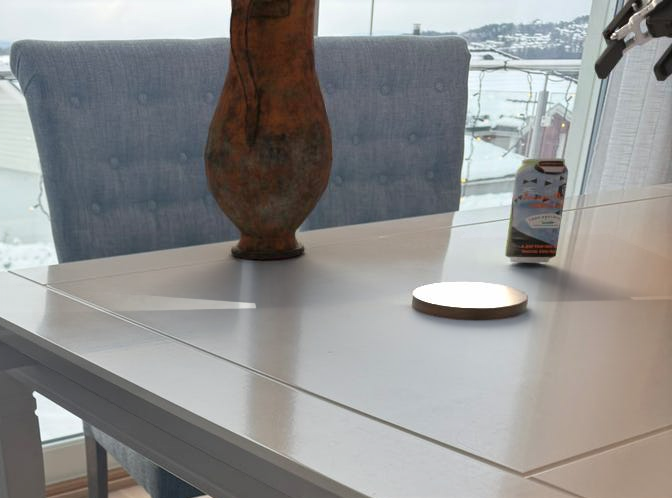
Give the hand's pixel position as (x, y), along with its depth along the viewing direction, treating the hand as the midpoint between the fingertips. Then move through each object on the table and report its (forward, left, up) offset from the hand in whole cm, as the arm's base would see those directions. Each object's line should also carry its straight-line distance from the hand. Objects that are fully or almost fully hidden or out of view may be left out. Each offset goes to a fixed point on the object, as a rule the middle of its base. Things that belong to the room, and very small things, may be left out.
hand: (627, 74), depth 111 cm
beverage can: (+10, +6, -20) cm, 23 cm away
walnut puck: (+25, +35, -20) cm, 47 cm away
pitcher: (+43, -3, -20) cm, 48 cm away
